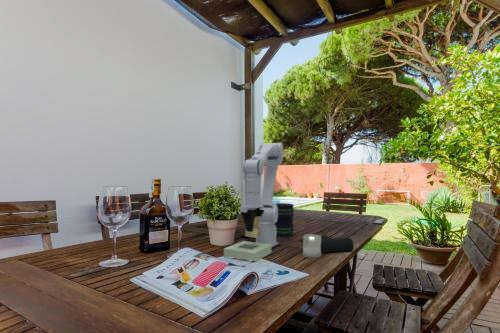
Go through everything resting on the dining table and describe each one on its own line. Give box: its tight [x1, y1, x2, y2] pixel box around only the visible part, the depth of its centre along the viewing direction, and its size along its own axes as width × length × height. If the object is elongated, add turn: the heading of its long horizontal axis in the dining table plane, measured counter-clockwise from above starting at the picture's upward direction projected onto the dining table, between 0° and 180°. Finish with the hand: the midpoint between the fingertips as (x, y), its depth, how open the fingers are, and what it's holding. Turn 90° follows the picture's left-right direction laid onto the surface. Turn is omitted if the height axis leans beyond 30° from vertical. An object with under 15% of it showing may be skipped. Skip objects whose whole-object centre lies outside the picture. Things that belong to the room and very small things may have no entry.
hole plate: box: [223, 240, 272, 261], centre depth 109 cm, size 14×12×3 cm
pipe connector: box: [319, 234, 354, 254], centre depth 119 cm, size 12×5×15 cm
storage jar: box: [274, 202, 295, 239], centre depth 144 cm, size 10×10×15 cm
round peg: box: [302, 233, 322, 259], centre depth 110 cm, size 6×6×7 cm
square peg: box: [244, 216, 260, 239], centre depth 108 cm, size 4×4×7 cm
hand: (252, 230), depth 109 cm, fingers closed on square peg, 4 cm apart
